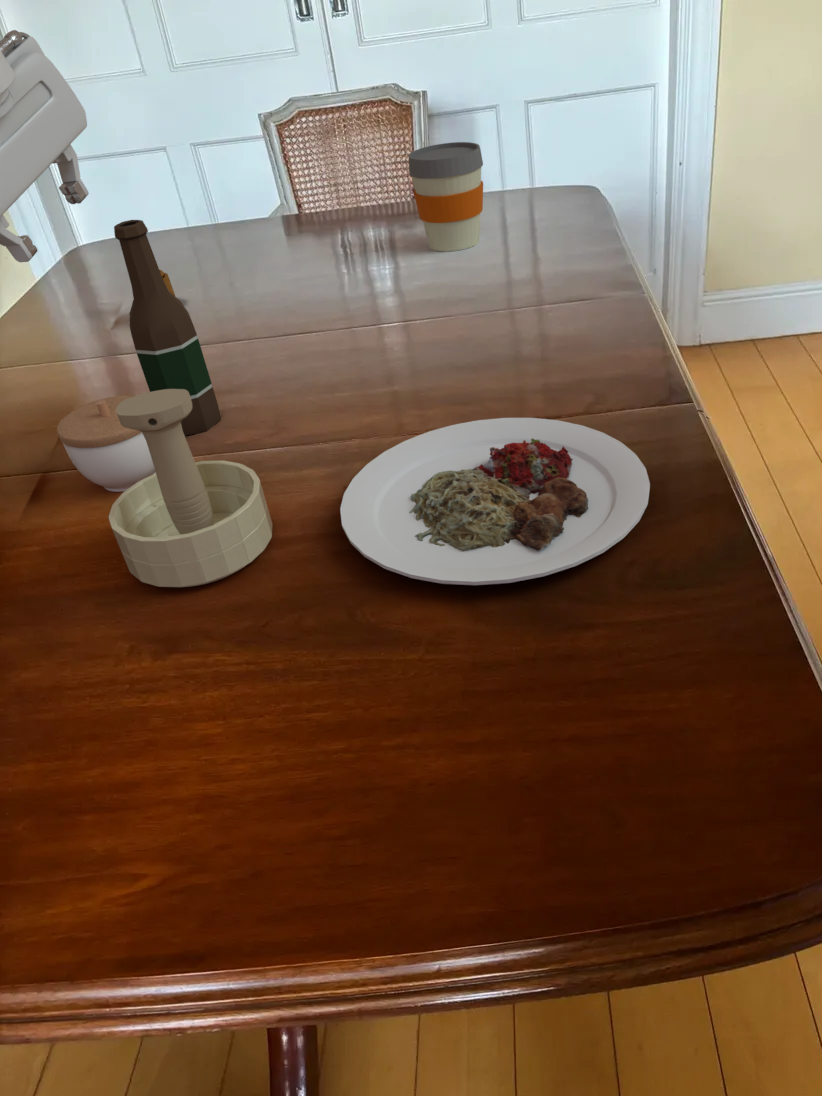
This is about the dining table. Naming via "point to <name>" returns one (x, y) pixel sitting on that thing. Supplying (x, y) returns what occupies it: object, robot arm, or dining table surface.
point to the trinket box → (105, 445)
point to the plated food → (495, 501)
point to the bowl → (201, 553)
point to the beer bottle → (165, 332)
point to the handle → (170, 454)
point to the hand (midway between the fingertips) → (55, 227)
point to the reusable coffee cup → (449, 193)
